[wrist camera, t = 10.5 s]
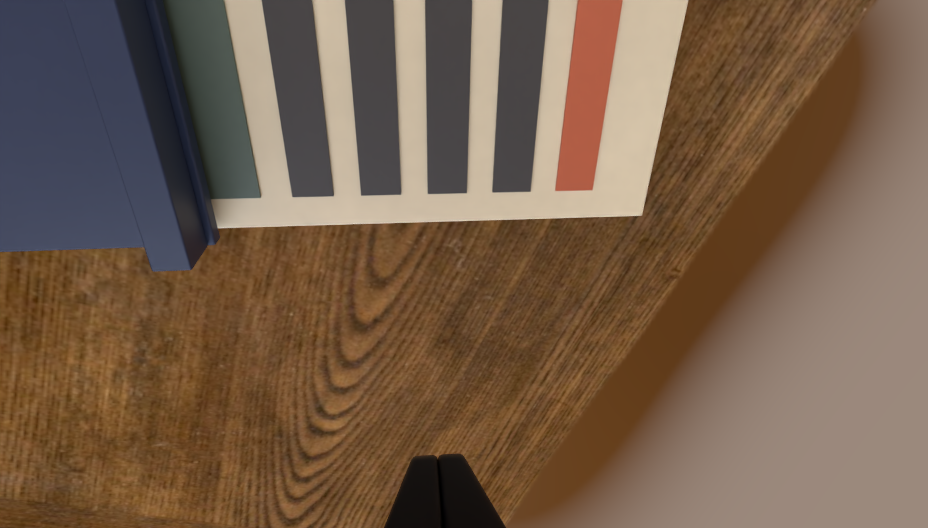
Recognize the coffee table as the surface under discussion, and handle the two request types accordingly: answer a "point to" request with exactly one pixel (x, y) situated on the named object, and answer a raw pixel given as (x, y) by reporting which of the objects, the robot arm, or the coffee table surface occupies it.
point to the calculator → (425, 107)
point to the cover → (98, 133)
